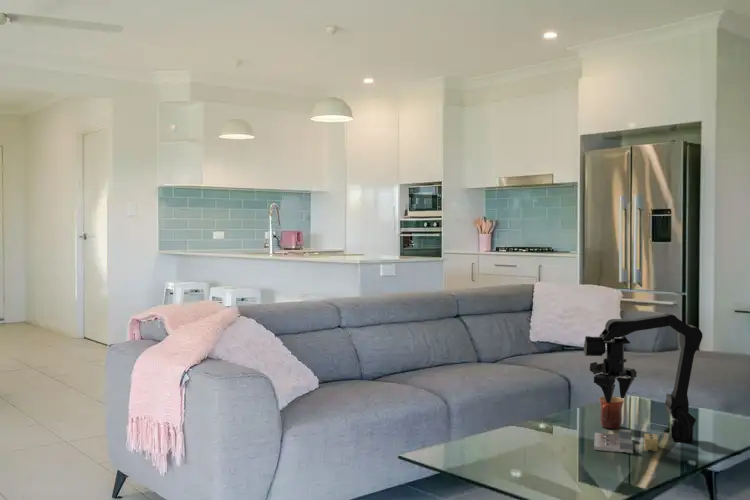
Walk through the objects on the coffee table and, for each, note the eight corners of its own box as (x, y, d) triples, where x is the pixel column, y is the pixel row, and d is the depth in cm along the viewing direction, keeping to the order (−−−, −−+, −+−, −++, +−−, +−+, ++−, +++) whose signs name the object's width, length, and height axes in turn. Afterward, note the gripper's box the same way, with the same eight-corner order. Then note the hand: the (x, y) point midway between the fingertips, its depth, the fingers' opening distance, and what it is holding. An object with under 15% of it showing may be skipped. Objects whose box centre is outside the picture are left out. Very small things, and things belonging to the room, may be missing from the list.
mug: (603, 422, 275) (603, 395, 274) (626, 426, 269) (627, 398, 269) (591, 429, 265) (591, 401, 265) (615, 434, 260) (616, 405, 259)
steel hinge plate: (630, 439, 254) (631, 430, 254) (632, 453, 239) (632, 443, 238) (594, 436, 257) (594, 427, 257) (594, 449, 242) (594, 440, 242)
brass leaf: (656, 446, 247) (656, 433, 246) (657, 451, 241) (658, 439, 241) (643, 445, 248) (644, 432, 248) (644, 450, 242) (645, 437, 242)
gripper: (608, 349, 267) (608, 392, 268) (579, 356, 255) (580, 401, 255) (637, 353, 259) (637, 397, 259) (608, 361, 246) (609, 407, 247)
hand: (615, 400), depth 256 cm, fingers open, 9 cm apart
